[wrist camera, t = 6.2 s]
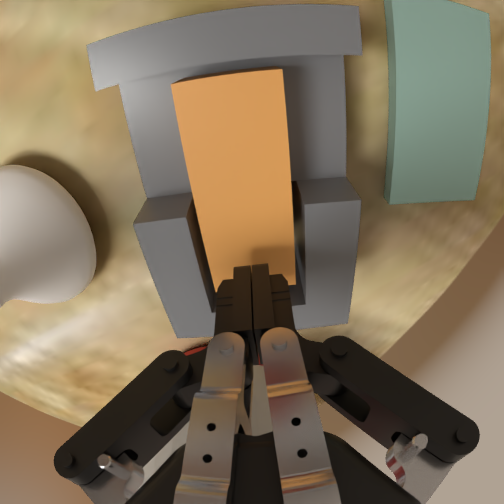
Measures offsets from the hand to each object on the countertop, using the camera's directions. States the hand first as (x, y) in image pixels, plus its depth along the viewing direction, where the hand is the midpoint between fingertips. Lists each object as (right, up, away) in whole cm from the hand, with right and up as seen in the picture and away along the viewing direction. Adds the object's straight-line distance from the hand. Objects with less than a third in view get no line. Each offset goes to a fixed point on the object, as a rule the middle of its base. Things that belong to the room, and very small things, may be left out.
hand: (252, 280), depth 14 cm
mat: (+11, +10, +1) cm, 15 cm away
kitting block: (-1, +7, +3) cm, 8 cm away
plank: (0, +5, +1) cm, 5 cm away
